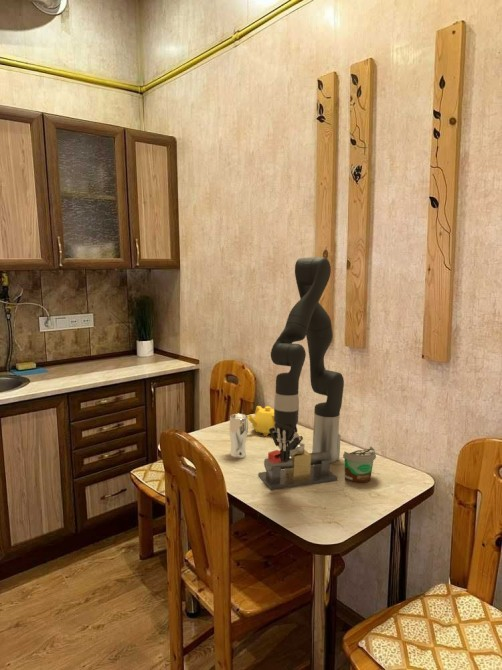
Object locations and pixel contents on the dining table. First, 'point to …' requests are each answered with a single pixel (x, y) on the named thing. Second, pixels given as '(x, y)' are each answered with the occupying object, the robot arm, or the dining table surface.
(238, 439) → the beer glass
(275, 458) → the valve lever
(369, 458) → the food container
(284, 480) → the valve pipe
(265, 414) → the teapot
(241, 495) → the dining table surface
